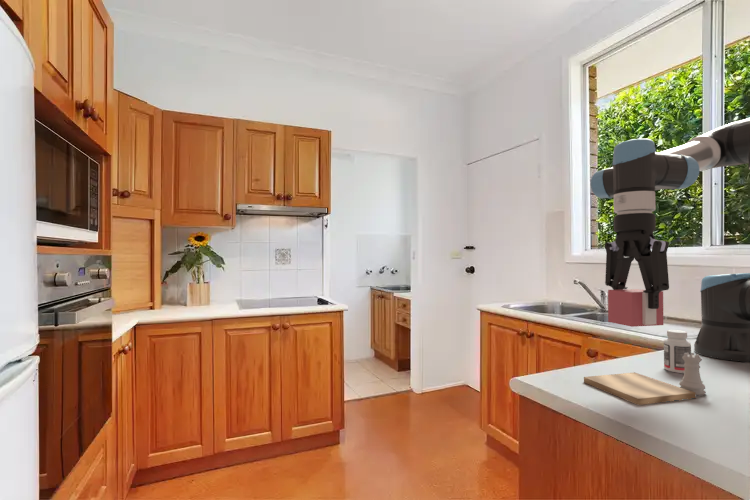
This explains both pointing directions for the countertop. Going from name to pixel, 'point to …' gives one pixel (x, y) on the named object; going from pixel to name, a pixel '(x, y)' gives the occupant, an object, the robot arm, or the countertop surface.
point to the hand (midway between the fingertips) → (635, 321)
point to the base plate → (638, 388)
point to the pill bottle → (676, 350)
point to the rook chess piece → (692, 374)
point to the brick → (630, 307)
